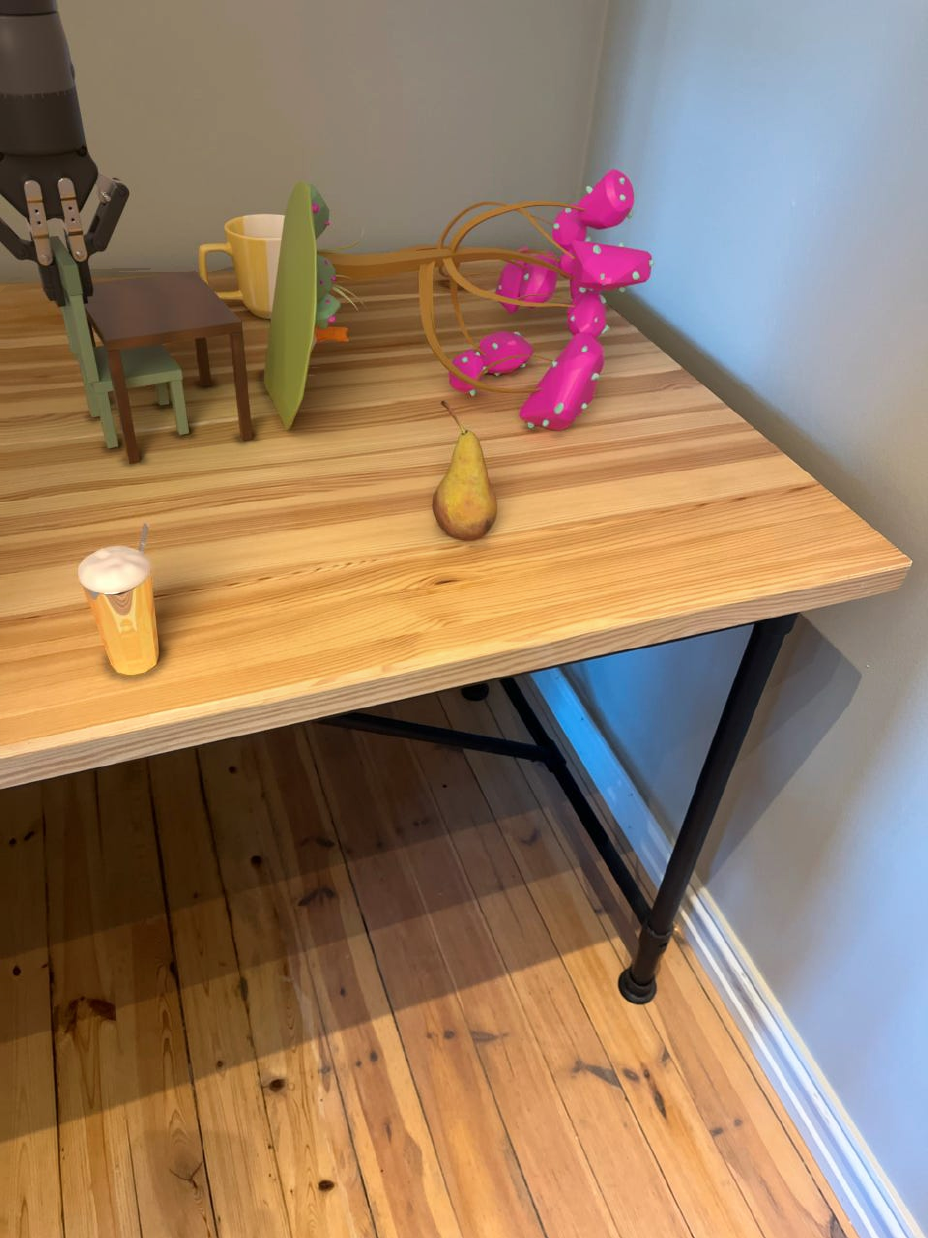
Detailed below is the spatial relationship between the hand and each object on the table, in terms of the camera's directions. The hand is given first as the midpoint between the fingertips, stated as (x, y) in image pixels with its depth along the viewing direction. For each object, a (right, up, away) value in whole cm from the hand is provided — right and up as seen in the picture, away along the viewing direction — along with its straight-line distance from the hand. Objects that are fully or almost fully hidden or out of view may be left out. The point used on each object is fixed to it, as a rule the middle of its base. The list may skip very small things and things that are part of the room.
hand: (70, 301), depth 81 cm
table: (+5, -8, +11) cm, 15 cm away
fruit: (+35, -21, -1) cm, 41 cm away
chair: (+3, -9, +10) cm, 14 cm away
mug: (+9, +11, +35) cm, 37 cm away
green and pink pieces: (+33, -4, +19) cm, 38 cm away
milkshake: (+12, -31, -16) cm, 37 cm away
